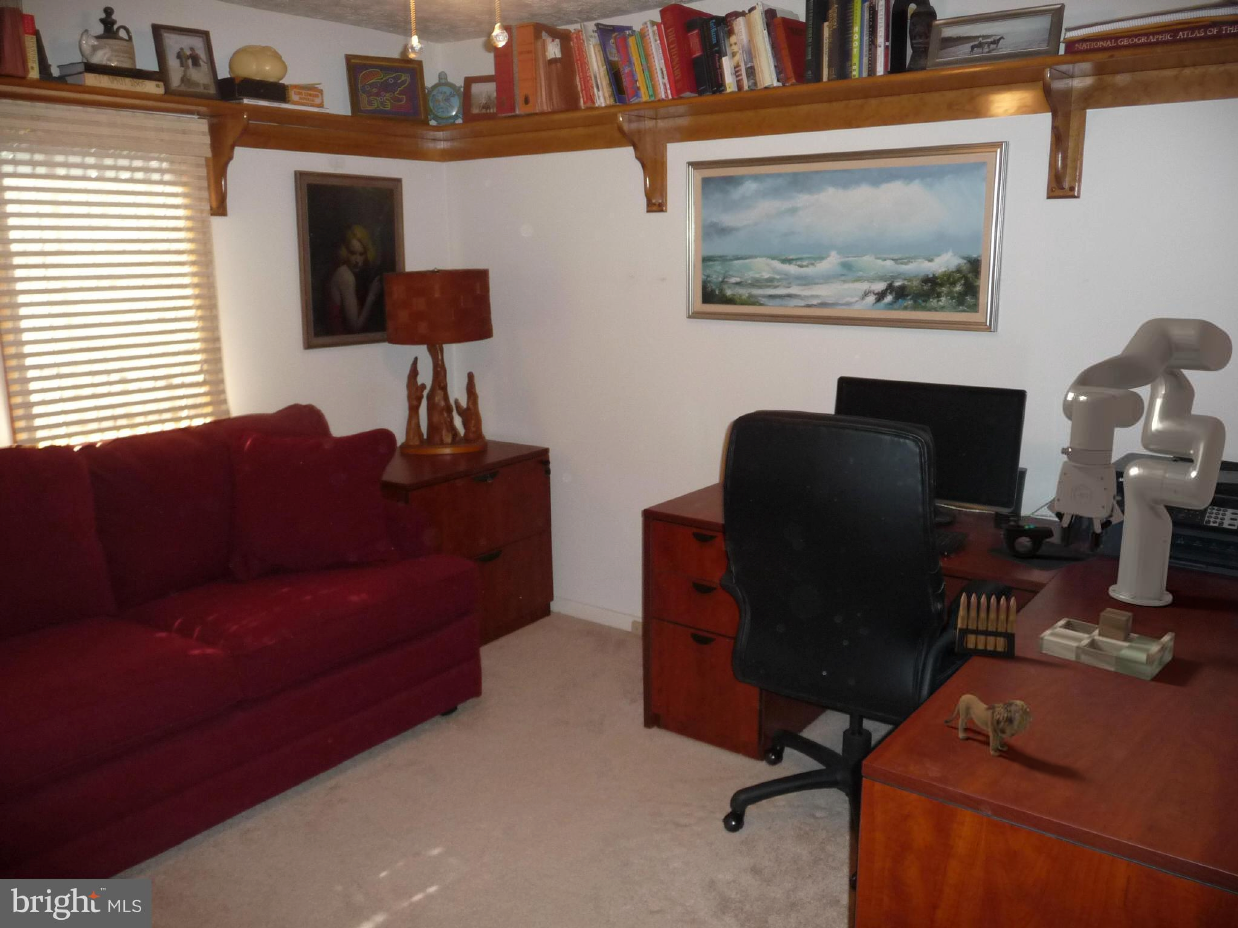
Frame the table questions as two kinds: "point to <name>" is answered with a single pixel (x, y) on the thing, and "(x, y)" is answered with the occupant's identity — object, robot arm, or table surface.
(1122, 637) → the walnut block
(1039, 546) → the controller
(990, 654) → the ammunition clip
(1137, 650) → the divided compartment tray
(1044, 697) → the table surface
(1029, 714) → the lion figurine
